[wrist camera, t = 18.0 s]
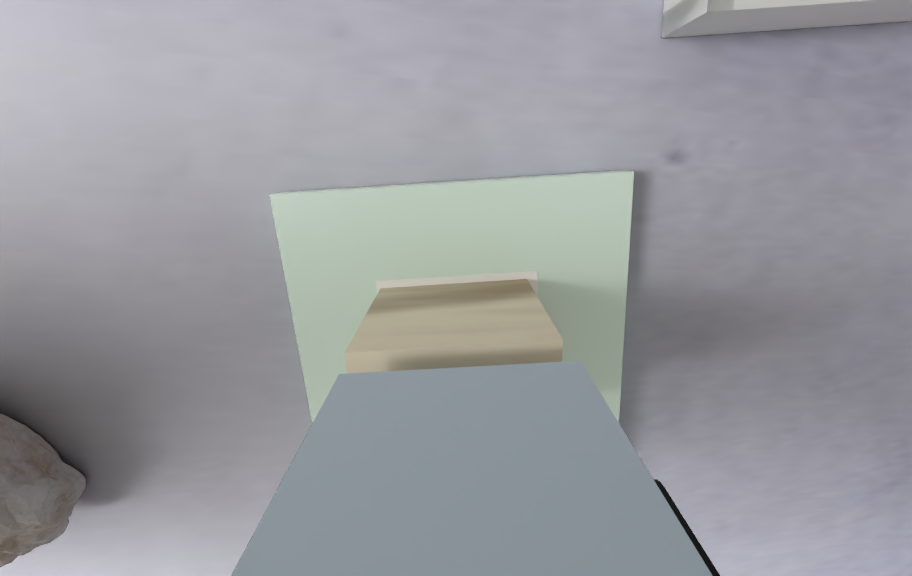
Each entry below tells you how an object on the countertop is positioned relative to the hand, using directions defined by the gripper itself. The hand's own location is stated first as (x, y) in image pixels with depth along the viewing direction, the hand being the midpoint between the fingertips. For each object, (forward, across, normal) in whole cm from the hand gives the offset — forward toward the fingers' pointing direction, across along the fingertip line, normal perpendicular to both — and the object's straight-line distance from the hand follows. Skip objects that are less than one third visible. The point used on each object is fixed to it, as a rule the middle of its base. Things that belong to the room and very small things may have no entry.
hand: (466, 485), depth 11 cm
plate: (+9, 0, 0) cm, 9 cm away
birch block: (+8, 0, 0) cm, 8 cm away
